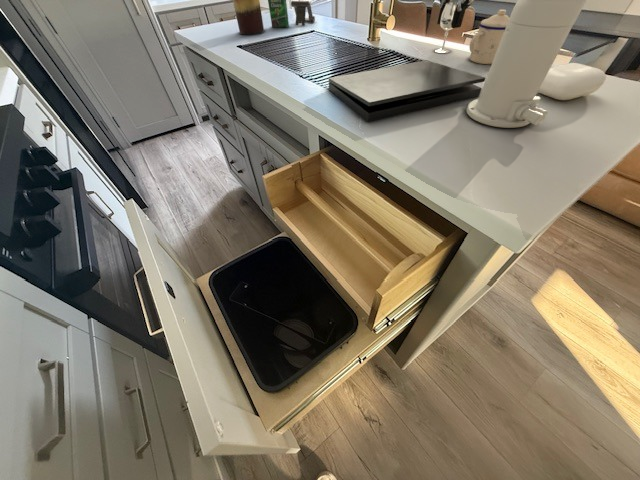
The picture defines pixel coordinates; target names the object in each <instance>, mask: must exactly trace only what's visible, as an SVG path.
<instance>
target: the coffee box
mask: <svg viewBox="0 0 640 480" xmlns="http://www.w3.org/2000/svg"><path fill="white" fill-rule="evenodd" d="M267 3H268V9H269V16H270V23H271V28H283V29H284V28H289V26H290V21H289V15H288V14H289V13H288V5H287V0H267Z"/></svg>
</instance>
